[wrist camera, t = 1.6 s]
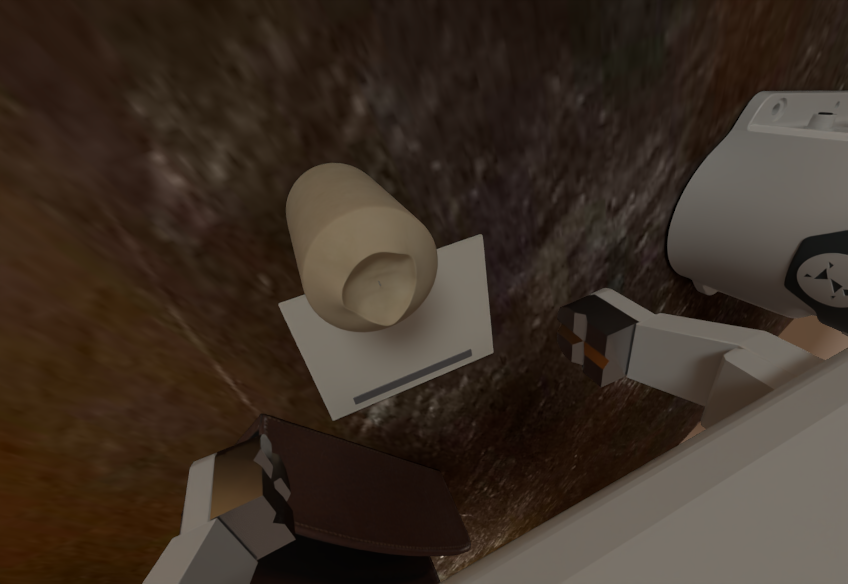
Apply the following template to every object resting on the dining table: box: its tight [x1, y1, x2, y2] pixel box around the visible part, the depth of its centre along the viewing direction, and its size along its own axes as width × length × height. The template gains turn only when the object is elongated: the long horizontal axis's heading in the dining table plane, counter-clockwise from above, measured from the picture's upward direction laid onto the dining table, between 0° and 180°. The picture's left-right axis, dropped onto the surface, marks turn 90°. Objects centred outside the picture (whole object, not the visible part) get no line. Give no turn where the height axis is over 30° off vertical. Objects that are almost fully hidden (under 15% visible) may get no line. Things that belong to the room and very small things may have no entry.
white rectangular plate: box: [279, 234, 493, 421], centre depth 28 cm, size 14×11×1 cm
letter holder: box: [180, 414, 471, 584], centre depth 28 cm, size 10×20×14 cm, turn 46°
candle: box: [286, 163, 438, 332], centre depth 18 cm, size 6×6×10 cm
